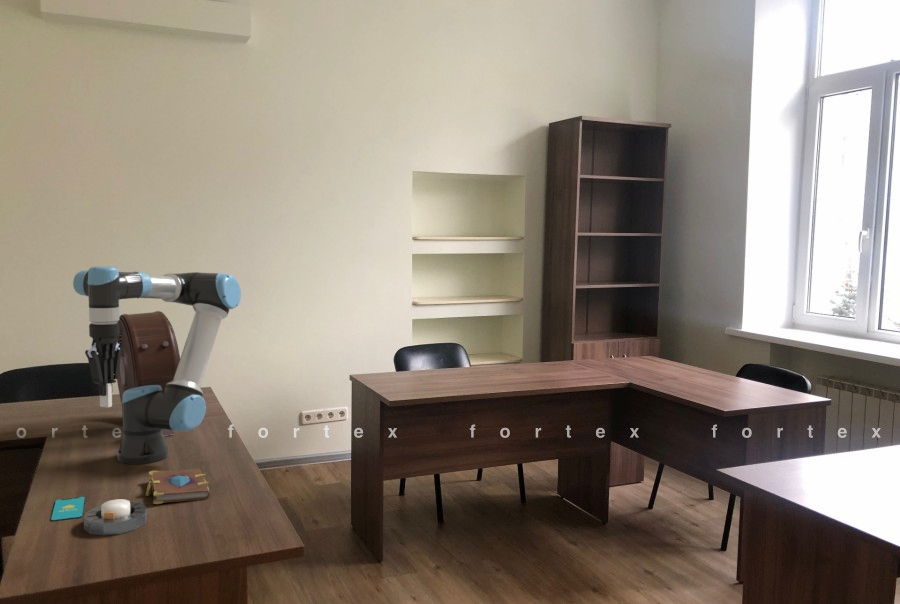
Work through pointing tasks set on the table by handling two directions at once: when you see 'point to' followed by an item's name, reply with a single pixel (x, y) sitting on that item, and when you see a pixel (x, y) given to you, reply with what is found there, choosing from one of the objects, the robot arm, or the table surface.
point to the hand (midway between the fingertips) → (106, 406)
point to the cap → (115, 509)
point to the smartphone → (68, 509)
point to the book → (177, 486)
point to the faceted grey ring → (115, 521)
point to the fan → (146, 352)
